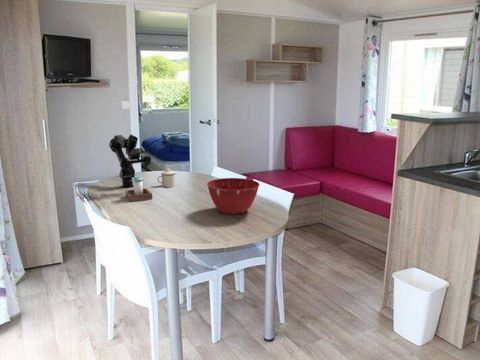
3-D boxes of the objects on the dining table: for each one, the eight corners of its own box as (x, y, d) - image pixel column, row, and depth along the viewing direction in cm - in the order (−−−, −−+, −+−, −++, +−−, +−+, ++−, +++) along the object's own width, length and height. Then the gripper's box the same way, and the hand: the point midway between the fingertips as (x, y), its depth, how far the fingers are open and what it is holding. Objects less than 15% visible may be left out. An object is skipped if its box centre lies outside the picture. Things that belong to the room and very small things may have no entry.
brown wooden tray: (125, 197, 263) (125, 190, 262) (147, 195, 269) (146, 188, 268) (130, 203, 252) (129, 195, 251) (152, 200, 257) (152, 193, 256)
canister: (133, 197, 261) (132, 177, 258) (141, 196, 263) (141, 176, 260) (136, 199, 255) (135, 179, 253) (144, 199, 257) (143, 179, 255)
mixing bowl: (223, 200, 259) (223, 175, 256) (267, 207, 246) (268, 180, 243) (197, 213, 235) (196, 185, 231) (244, 221, 222) (244, 192, 219)
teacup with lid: (172, 183, 298) (172, 167, 296) (177, 186, 291) (176, 169, 288) (155, 185, 293) (155, 168, 290) (159, 188, 285) (159, 171, 282)
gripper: (119, 145, 264) (126, 163, 255) (148, 142, 274) (156, 160, 265) (116, 158, 271) (124, 176, 263) (145, 156, 281) (153, 173, 272)
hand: (139, 171), depth 265 cm, fingers open, 9 cm apart
